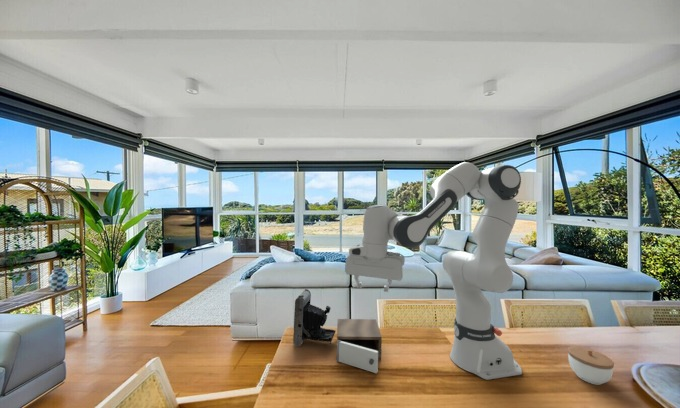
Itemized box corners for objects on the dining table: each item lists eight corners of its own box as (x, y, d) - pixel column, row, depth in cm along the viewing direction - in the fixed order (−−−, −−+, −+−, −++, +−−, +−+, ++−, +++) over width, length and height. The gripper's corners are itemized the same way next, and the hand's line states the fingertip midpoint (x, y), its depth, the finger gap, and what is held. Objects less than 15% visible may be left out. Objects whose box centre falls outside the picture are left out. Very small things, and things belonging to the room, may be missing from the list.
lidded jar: (558, 366, 88) (559, 340, 88) (589, 367, 87) (590, 341, 87) (587, 389, 77) (589, 360, 77) (623, 391, 77) (624, 361, 77)
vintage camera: (330, 353, 94) (333, 301, 94) (291, 346, 97) (294, 295, 97) (335, 339, 103) (338, 292, 103) (300, 333, 106) (303, 287, 106)
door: (377, 372, 83) (378, 350, 83) (376, 376, 81) (376, 353, 81) (337, 359, 89) (338, 339, 89) (335, 362, 87) (335, 342, 87)
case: (375, 339, 103) (376, 319, 102) (381, 360, 90) (381, 336, 89) (337, 339, 102) (337, 318, 102) (337, 359, 89) (337, 336, 89)
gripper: (405, 251, 87) (403, 290, 87) (348, 246, 93) (347, 282, 93) (404, 255, 81) (402, 296, 81) (344, 249, 87) (342, 288, 87)
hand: (372, 289), depth 87 cm, fingers open, 8 cm apart
